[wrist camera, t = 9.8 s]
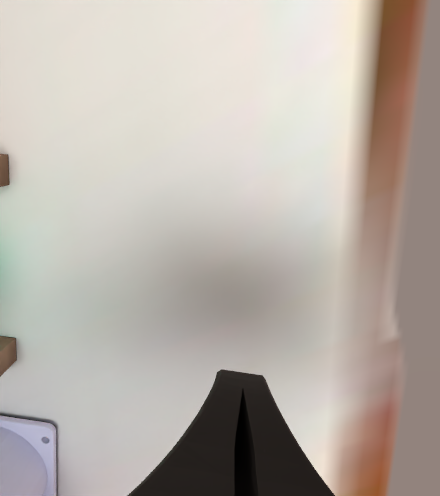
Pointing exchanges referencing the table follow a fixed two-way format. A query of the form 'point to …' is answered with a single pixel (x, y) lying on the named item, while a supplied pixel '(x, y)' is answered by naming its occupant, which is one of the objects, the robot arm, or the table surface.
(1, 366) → the brown wooden angled piece
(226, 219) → the table surface
